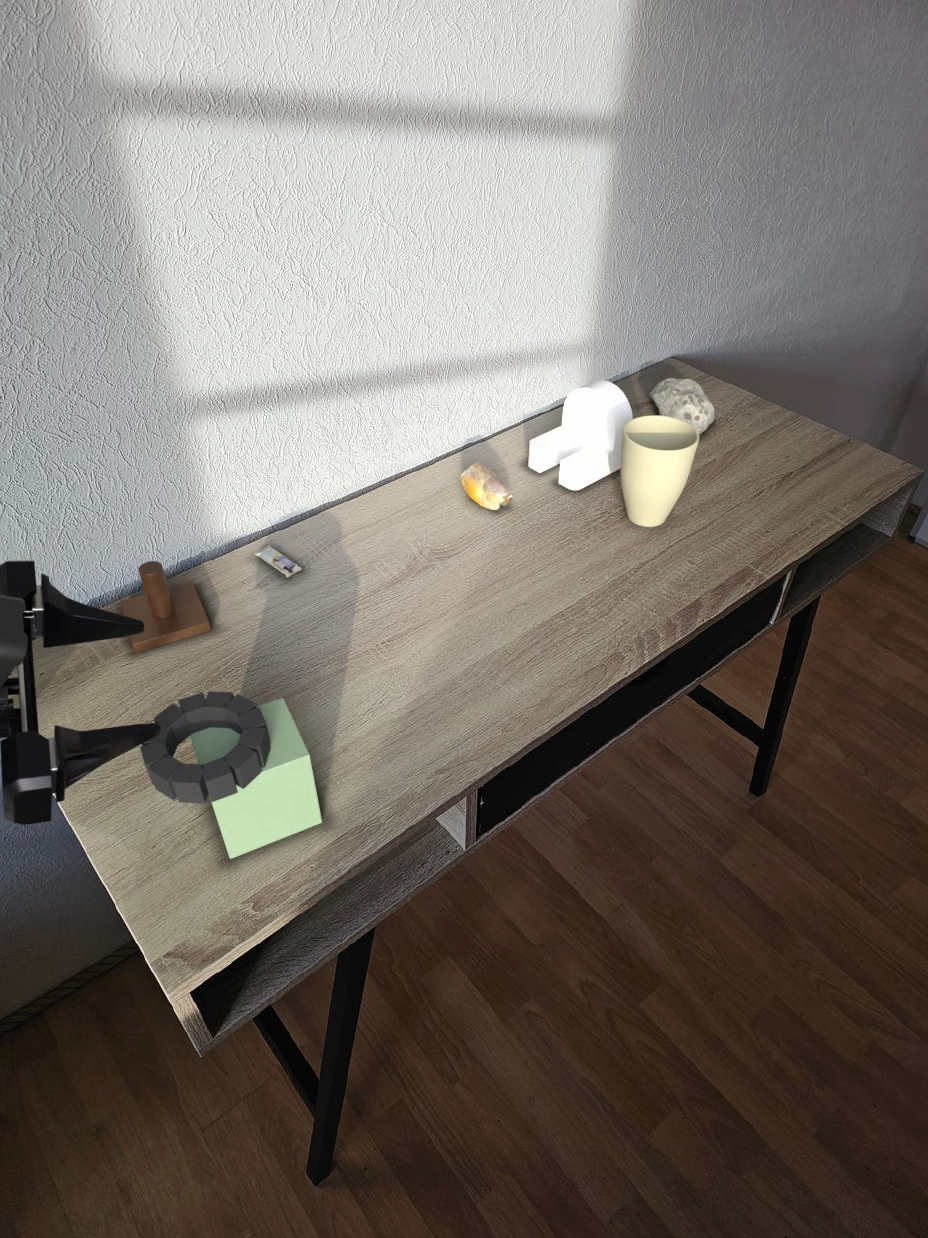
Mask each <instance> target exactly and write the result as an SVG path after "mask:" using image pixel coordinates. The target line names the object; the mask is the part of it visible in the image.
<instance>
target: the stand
mask: <svg viewBox="0 0 928 1238" xmlns="http://www.w3.org/2000/svg"><path fill="white" fill-rule="evenodd" d="M137 572H138V575H139V577H140V580H141V584H142V587H143V590H144V593H145V594H144V593H143V594H141V595H137V596H134V597H130V598H127V599H122V600H120V601H119V604H120V607H121V611H122V615H124V616H127V617H131V618H134V619H138V620H141V621H143V622H144V631H143V632H142V633H139V634H135V635H130V636H129V638H130V642H131V645H132V648H133V650H134V653H135V654H136V653H140V652H143V651H147V650H149V649H153V648H157V647H160V646H164V645H166V644H170V643H173V642H177V641H180V640H184V639H187V638H190V637H193V636H197V635H200V634H203V633H207V632H210V631H212V628H211V624H210V621H209V619H208V617H207V616H208V615H207V614H206V611H205V609H204V606H203V604H202V602H201V599H200V596H199V594H198V591H197V590H196V586H195V585H194V582H193V581H188V582H184V583H181V584H177V585H174V586H170V587H169V584H168V580H167V577H166V573H165V571H164V568H163V564H162V563H161V562H160V561H156V560H151V561H146V562H144V563H142V564H141V565H140V566H138V570H137Z"/></svg>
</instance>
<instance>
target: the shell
mask: <svg viewBox="0 0 928 1238" xmlns="http://www.w3.org/2000/svg"><path fill="white" fill-rule="evenodd" d="M460 484H461V486H462V488H463V490H464V491H465V492H466V493H467V495H468V496H469V498H470V499H472V501H474V502H475V503H476V504H478V505H479V506H481V507H482V508H485V509H487V510H492V511H498V510H499V508H500V507H501V506H503V507H506V506H508V505H509V504H510V502H511V501H512V500H513V497H514V496H513V494H512V493H511V492H510V490H509V488H508V487H507V486H506V485H505V483H503V481H502V479H500V478H499V477H498V476H497V475H496V474H495V473H494V471H492V469H490V468H489V467H487V466H485V465H484V464H482V463H481V462H473V464H471V465H470V466H469V467H467V469H466V470H464V471H463V472H462V473H460Z"/></svg>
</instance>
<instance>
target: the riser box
mask: <svg viewBox="0 0 928 1238" xmlns="http://www.w3.org/2000/svg"><path fill="white" fill-rule="evenodd" d="M256 707H259V708H260V710H261V712H262V715H263V717H264V719H265V722H266V725H267V729H268V733H269V738H270V746H271V749H270V753H269V756H268V759H267V762H266V766H265V767H261V771H262V772H261V773H260V774H259V775H258V776H257V777H256V778H255V779H254V780H253V781H252V782H251V783H250V784H249V785H248V786H246V787H245V788H244V789H242V788H241V787H239V786H237V785H236V787H237V791H238V793H236V794H233V795H230V796H228V797H225V798H222V799H220V800H217V801H214V802H211V799H210V796H209V795H208V797H209V800H210V804H211V806H212V809H213V813H214V815H215V818H216V821H217V824H218V828H219V830H220V833H221V837H222V840H223V842H224V846H225V848H226V852H227V854H228V858H229V859H230V860H232V859H234V858H237V857H239V856H241V855H244V854H247V853H250V852H252V851H254V850H258V849H259V848H262V847H264V846H268V845H269V844H272V843H275V842H278V841H280V840H282V839H284V838H288V837H291V835H292V836H293V835H295V834H297V833H300V832H302V831H306V830H307V829H310V828H313V827H315V826H317V825H320V824H322V823H323V819H322V814H321V808H320V802H319V797H318V792H317V786H316V781H315V776H314V770H313V765H312V760H311V759H312V758H311V755H310V753H309V750H308V748H307V746H306V744H305V741H304V739H303V737H302V735H301V733H300V731H299V728H298V726H297V724H296V722H295V720H294V718H293V715H292V713H291V711H290V709H289V707H288V705H287V703H286V701H285V699H284V697H281V698H277V699H275V700H272V701H269V702H266V703H263V704H259V705H256ZM240 736H241V734H239V733H237V732H235V731H234V730H232V729H230V728H213V727H211V728H208V729H205V730H202V731H199V732H196V733H193V734H191V735H190V736H189V738H190V739H189V740H190V742H191V745H192V748H193V751H194V753H195V757H196V760H197V764H205V763H208V762H211V761H214V760H217V759H220V758H222V757H224V756H225V755H226V754H227V753H228V752H230V751H231V750H232V749H233V748H234V747H235V746H236V745H237V744H238V742H239V739H240Z"/></svg>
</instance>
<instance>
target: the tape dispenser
mask: <svg viewBox="0 0 928 1238" xmlns="http://www.w3.org/2000/svg"><path fill="white" fill-rule="evenodd" d="M632 419H634V416H633V410H632V408H631V404H630V402H629V400H628V398H627V397H626V394H625V393H624V391H623V390H621V388H620V387H619V386H618V385H616V384H614V383H612V382H611V381H609V380H605V379H599V380H593V381H591V382H590V383H587V384H585V385H582V386H580V387H578V388H576V389H574V390H572V391H571V392H570V393H569V394H568V395H567V396H566V399H565V400H564V403H563V408H562V418H561V425H560V426H557V427H556V428H553V429H551V430H549V431H546V432H545V433H542V434H540V435H538V436H536V437H533V438H532V439H530V440H529V441H528V442H529V444H528V458H527V459H528V461H527V462H528V463H527V466H528V468H530V469H532V470H533V471H536V472H537V473H539V474H541V473H543V472H544V471H547V470H549V469H551V468H554V467H555V466H557V465H559V472H558V484H559V485H560V486H563V487H564V488H566V489H568V490H570V491H580V490H582V489H584V488H585V487H587V486H589V485H591V484H593V483H595V482H598V481H599V480H601V479H603V478H605V477H607V476H608V475H611V474H612V473H615V472H616V471H618V470H621V454H622V439H623V428H624V426H625V424H626V423H627V422H629V421H630V420H632Z"/></svg>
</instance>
